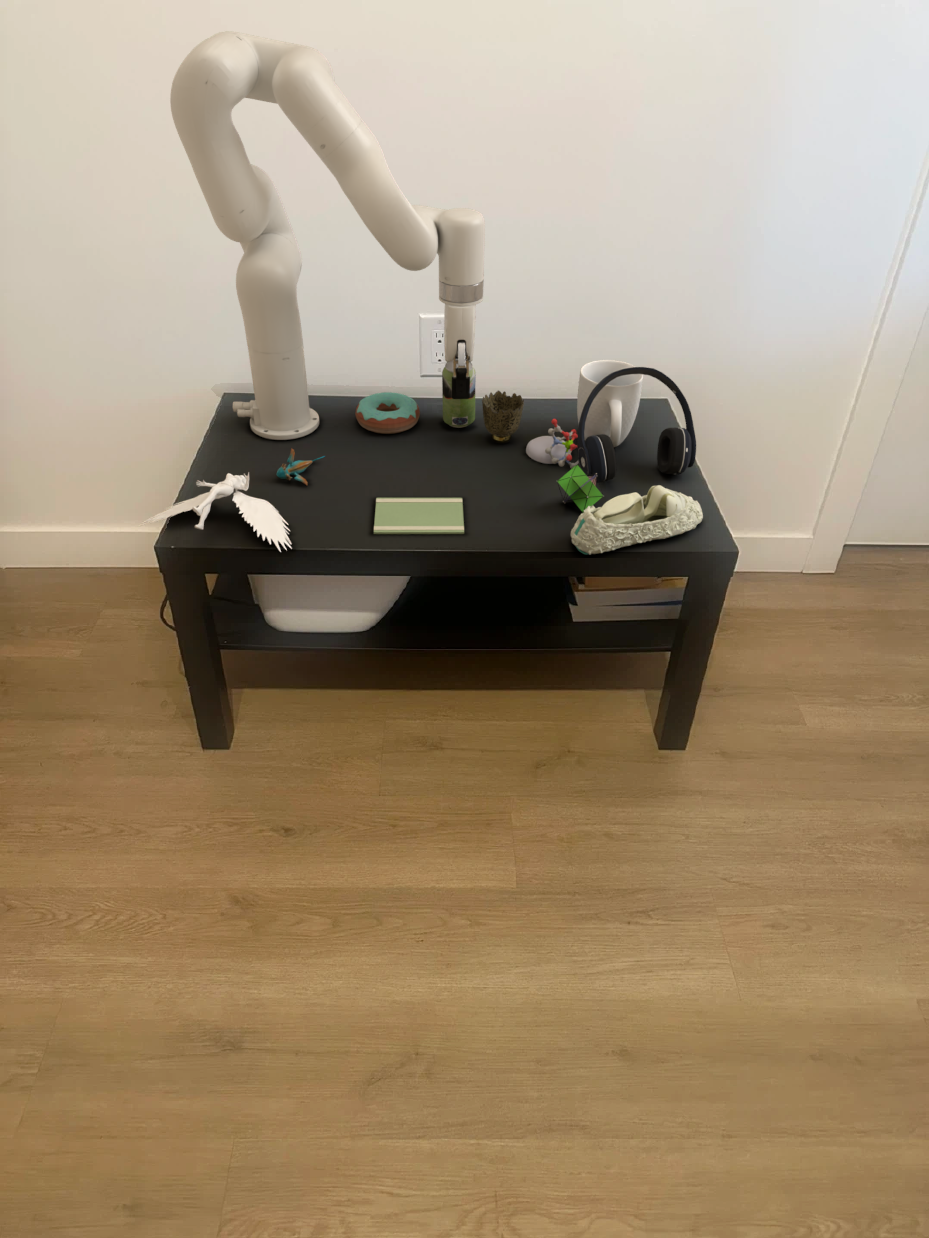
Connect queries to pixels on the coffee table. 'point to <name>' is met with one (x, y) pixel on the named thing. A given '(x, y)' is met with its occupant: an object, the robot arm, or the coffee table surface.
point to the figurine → (252, 508)
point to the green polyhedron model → (580, 488)
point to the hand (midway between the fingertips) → (460, 389)
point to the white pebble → (538, 447)
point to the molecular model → (568, 444)
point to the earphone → (672, 445)
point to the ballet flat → (635, 520)
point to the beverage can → (457, 409)
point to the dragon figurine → (294, 468)
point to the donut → (387, 413)
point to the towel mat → (419, 516)
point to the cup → (502, 415)
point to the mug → (609, 400)
